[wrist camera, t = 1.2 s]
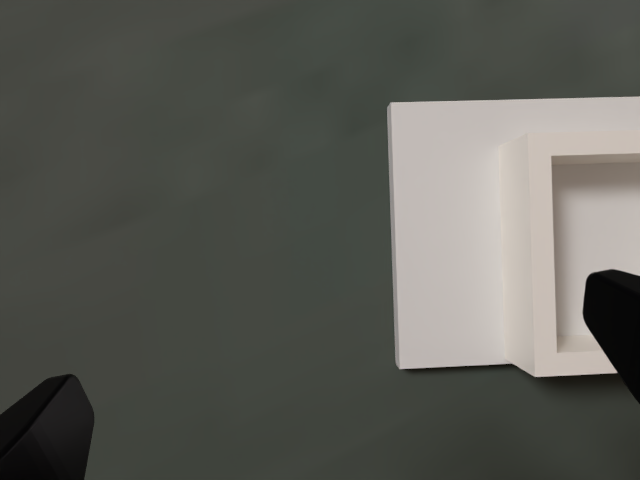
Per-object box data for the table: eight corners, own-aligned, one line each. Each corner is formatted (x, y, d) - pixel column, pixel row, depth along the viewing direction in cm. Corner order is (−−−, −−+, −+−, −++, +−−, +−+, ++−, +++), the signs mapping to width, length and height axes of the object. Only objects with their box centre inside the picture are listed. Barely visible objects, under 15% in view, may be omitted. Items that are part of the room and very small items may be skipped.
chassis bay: (716, 348, 25) (795, 369, 21) (395, 363, 24) (414, 388, 20) (709, 100, 25) (788, 74, 21) (386, 108, 24) (404, 82, 20)
